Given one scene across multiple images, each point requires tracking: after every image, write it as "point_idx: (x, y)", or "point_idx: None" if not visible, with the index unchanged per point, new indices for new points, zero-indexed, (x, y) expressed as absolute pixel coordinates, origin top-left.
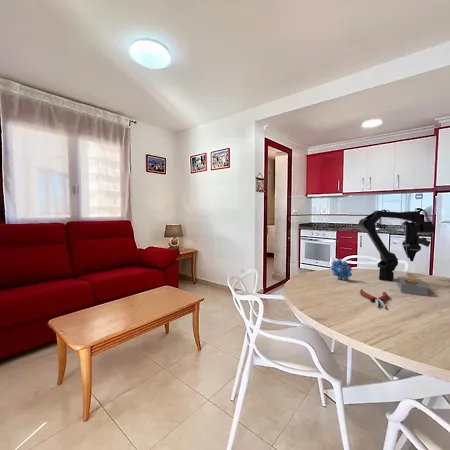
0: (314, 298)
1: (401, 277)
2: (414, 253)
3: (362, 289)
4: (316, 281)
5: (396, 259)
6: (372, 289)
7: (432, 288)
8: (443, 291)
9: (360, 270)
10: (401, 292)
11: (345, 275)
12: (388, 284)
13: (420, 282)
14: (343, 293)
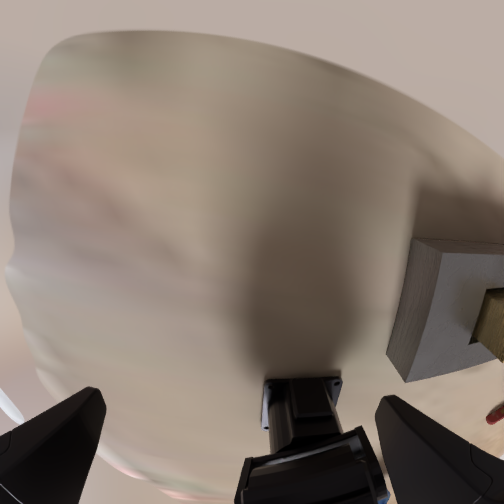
0: (497, 448)
1: (420, 364)
2: (498, 479)
3: (497, 421)
4: (394, 500)
5: (376, 497)
6: (466, 409)
7: (422, 170)
8: (453, 130)
9: (146, 461)
10: None
11: None
12: (404, 385)
13: (501, 269)
14: (485, 437)
